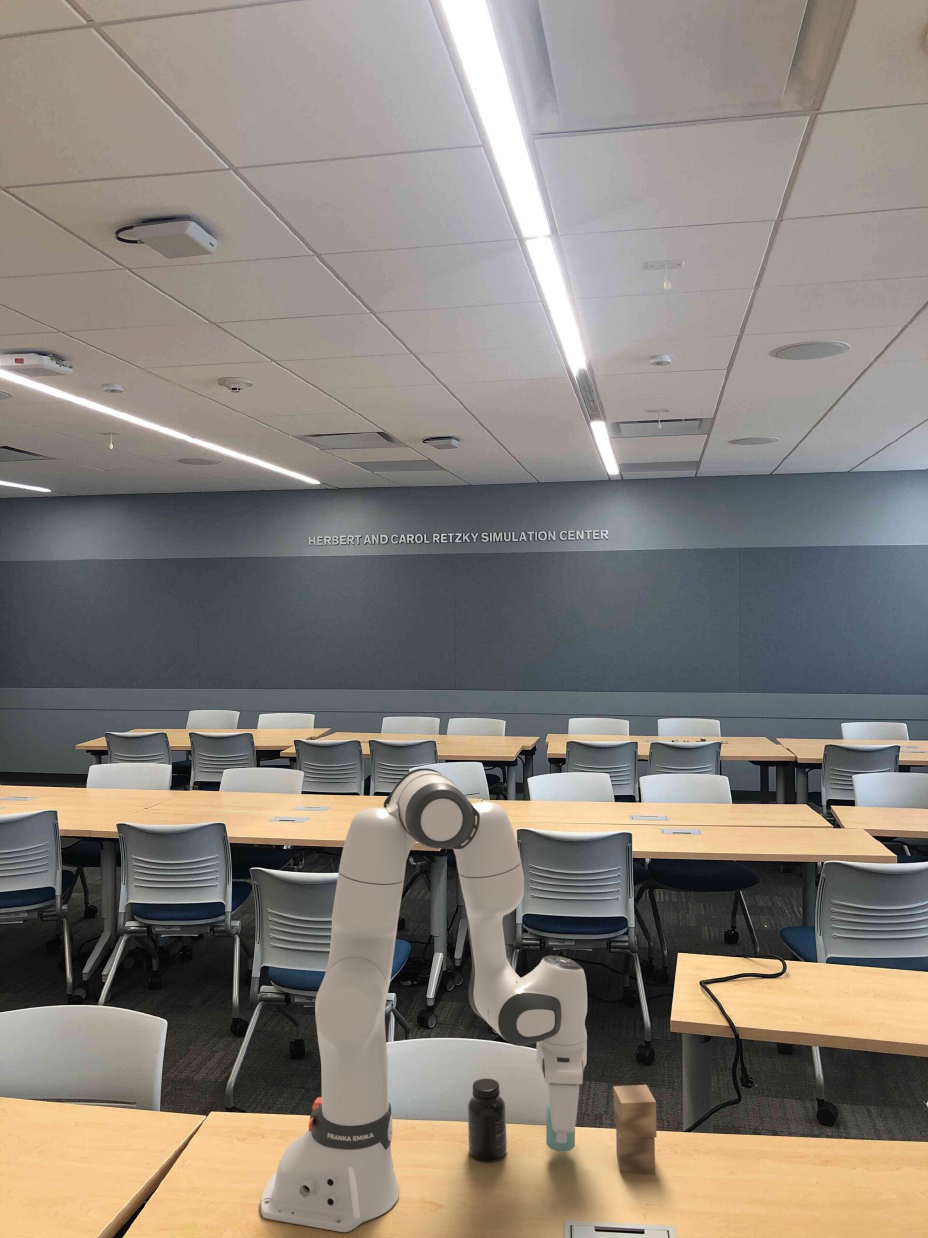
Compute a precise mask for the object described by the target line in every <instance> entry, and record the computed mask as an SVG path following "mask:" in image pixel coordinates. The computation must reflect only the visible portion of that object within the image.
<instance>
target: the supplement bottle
mask: <svg viewBox="0 0 928 1238" xmlns="http://www.w3.org/2000/svg"><path fill="white" fill-rule="evenodd" d="M506 1111H507V1110H506V1102H505V1101H504V1099H503V1097H502V1096H501V1091H500V1084H499V1082H498V1080H496V1079H493V1078H479V1079H477V1080H476V1081H474V1082H473V1083H472V1096H471V1097H470V1099H469V1101H468V1103H467V1124H468V1125H467V1127H468V1128H467V1129H468V1131H467V1132H468V1135H467V1136H468V1152H469V1154H470V1156H471V1157H472V1158H473V1159H474V1160H477V1161H479V1162H483V1163H490V1162H496V1161H499V1160H501V1159H502V1158H503V1157H504V1156H506V1153H507V1148H508V1145H507V1142H508V1141H507V1112H506Z"/></svg>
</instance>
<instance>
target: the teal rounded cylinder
mask: <svg viewBox="0 0 928 1238" xmlns="http://www.w3.org/2000/svg"><path fill="white" fill-rule="evenodd" d="M545 1125H546V1128H545V1131H546V1136H545V1137H546V1141H545V1144H546V1146H547V1148H549V1149H551V1150H552V1151H556V1152H569V1151H571V1150H573V1149H574V1148H575V1146H576V1128H575V1129H574V1131H573V1132H572V1133H567V1142H566V1143H558V1142H557V1141H556V1132H555V1131H554V1130H553V1128H552V1121H551V1111H550V1103H548V1104H547V1106H546V1124H545Z"/></svg>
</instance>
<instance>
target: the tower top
mask: <svg viewBox="0 0 928 1238" xmlns="http://www.w3.org/2000/svg"><path fill="white" fill-rule="evenodd" d="M612 1089H613V1091H612V1092H613V1095H612V1096H613V1122H614V1125H615V1127H616V1126H617V1129H618V1131H619V1133H620V1135H621V1138H622V1139H633V1138H657V1101H656V1099H655V1098H654V1096H653V1094H652V1092H651V1091H650V1089H649V1087H648V1085H647V1084H637V1085H636V1084H633V1085H630V1084H629V1085H614V1086H613V1088H612Z"/></svg>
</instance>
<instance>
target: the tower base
mask: <svg viewBox="0 0 928 1238" xmlns="http://www.w3.org/2000/svg"><path fill="white" fill-rule="evenodd" d="M615 1138H616V1139H615V1141H616V1143H615V1146H616V1147H615V1148H616V1158H617V1165H618V1169H619V1174H627V1175H628V1174H630V1175H631V1174H632V1175H634V1174H635V1175H636V1174H637V1175H656V1154H655V1153H656V1152H655V1151H656V1147H655V1146H656V1144H655V1140H656V1139H655V1138H656V1137H654V1138H633V1139H622V1138H621V1135H620V1133H619V1131H618V1129H617V1126H616V1125H615Z"/></svg>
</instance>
